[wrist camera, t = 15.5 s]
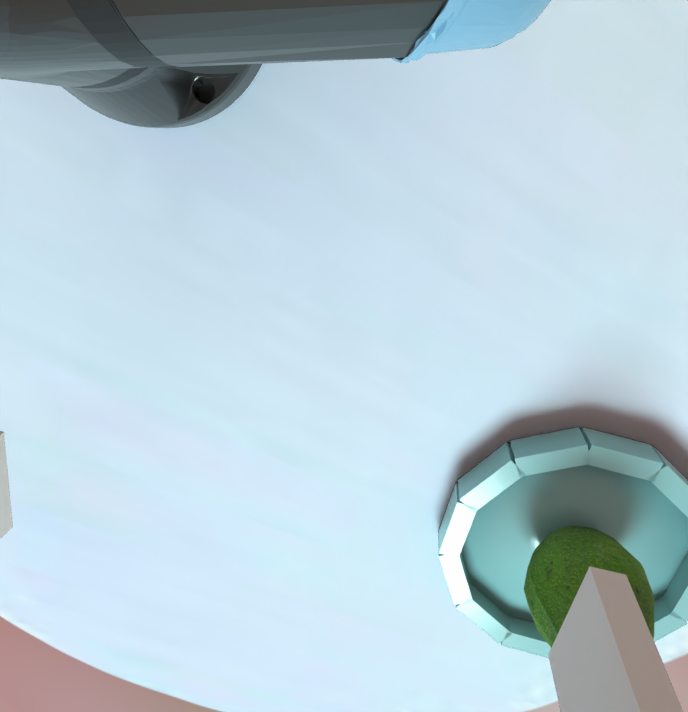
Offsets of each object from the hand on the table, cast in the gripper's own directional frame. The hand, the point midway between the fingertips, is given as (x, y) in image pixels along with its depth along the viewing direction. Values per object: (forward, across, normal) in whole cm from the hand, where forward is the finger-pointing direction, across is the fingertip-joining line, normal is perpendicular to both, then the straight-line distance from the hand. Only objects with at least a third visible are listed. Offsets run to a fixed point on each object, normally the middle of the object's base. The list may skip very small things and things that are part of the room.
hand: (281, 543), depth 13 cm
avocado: (+26, +18, -19) cm, 37 cm away
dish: (+27, +18, -19) cm, 38 cm away
